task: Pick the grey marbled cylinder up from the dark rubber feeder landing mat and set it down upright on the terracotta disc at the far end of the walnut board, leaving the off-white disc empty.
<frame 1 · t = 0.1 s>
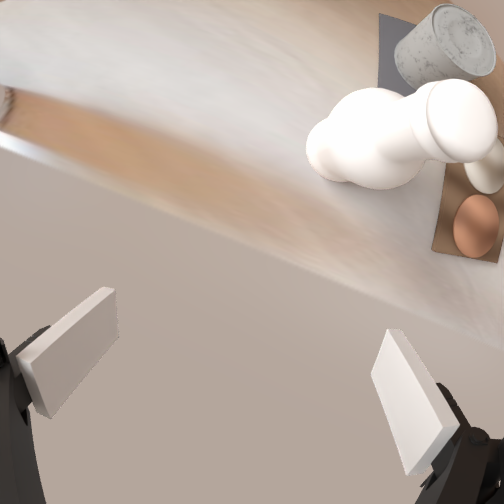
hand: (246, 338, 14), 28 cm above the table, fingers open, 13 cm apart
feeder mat: (422, 65, 32), on the table
bottle: (335, 150, 37), on the table
grey marbled cylinder: (422, 65, 32), resting on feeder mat
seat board: (477, 193, 36), on the table
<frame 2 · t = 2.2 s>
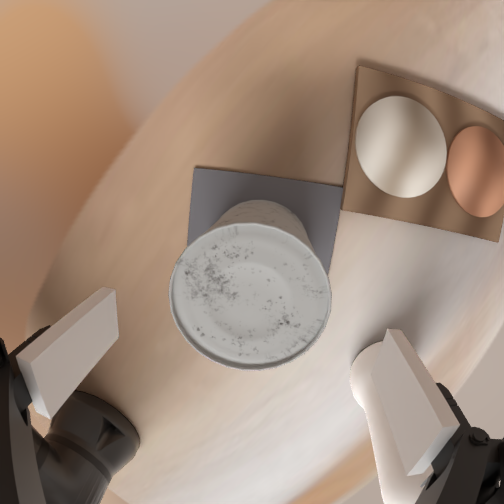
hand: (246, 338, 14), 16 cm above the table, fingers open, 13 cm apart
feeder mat: (259, 249, 29), on the table
bottle: (379, 364, 32), on the table
grey marbled cylinder: (259, 249, 29), resting on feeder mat
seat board: (439, 159, 26), on the table
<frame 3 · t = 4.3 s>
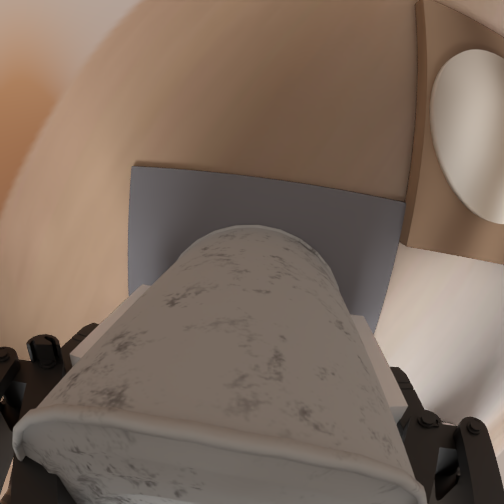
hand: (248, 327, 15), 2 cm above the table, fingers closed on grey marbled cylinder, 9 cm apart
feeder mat: (251, 312, 16), on the table
grey marbled cylinder: (251, 312, 16), resting on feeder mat, touching gripper
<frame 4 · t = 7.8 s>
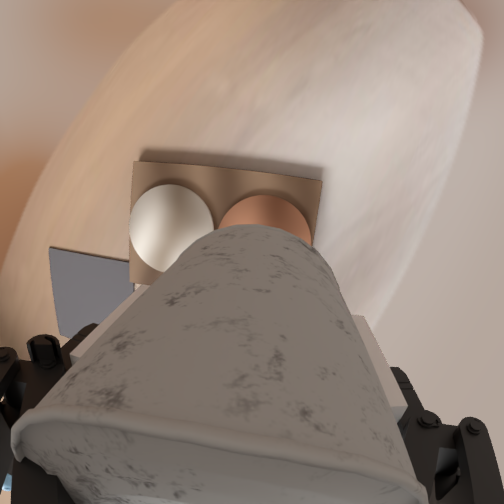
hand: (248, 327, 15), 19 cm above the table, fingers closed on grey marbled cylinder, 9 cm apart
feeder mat: (90, 303, 37), on the table
grey marbled cylinder: (251, 312, 16), point 17 cm above the table, touching gripper
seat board: (218, 232, 33), on the table
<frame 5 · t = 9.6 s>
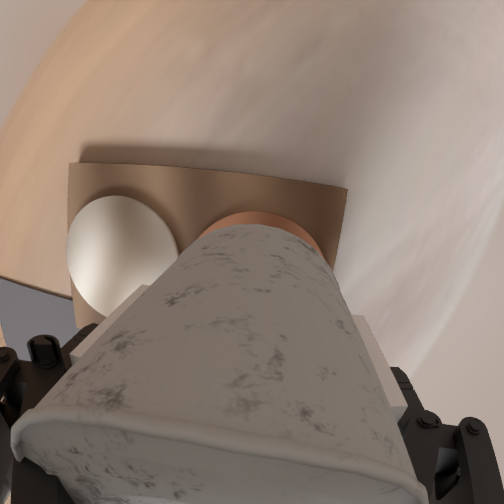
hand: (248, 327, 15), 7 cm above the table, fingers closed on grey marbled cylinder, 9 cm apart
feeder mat: (40, 345, 26), on the table
grey marbled cylinder: (251, 312, 16), point 6 cm above the table, touching gripper
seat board: (188, 266, 22), on the table
when the fingers open (5 cm above the table, at t = 11.2 s): grey marbled cylinder drops 1 cm, resting on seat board.
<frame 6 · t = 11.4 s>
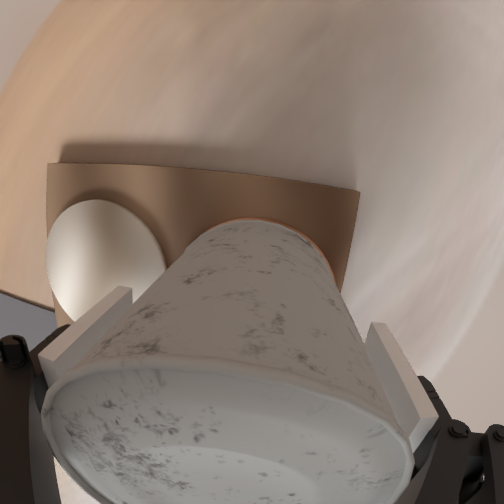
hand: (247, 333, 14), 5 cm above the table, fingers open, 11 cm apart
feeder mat: (27, 357, 23), on the table
grey marbled cylinder: (251, 301, 17), point 2 cm above the table, touching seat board
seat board: (177, 278, 19), on the table
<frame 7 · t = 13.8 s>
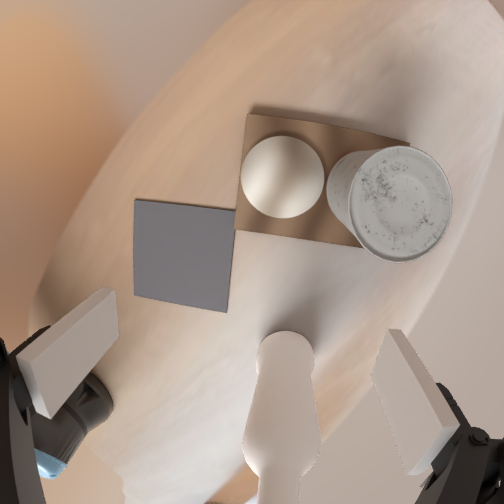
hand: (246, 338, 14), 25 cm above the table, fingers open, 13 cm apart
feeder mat: (180, 256, 40), on the table
bottle: (285, 350, 43), on the table
grey marbled cylinder: (365, 190, 34), point 2 cm above the table, touching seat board
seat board: (323, 182, 36), on the table
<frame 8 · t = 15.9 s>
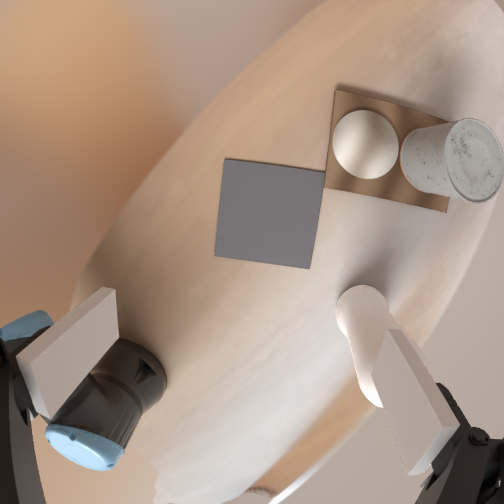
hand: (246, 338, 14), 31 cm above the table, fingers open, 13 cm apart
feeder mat: (268, 214, 43), on the table
bottle: (358, 305, 46), on the table
grey marbled cylinder: (428, 160, 37), point 2 cm above the table, touching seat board
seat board: (395, 152, 39), on the table
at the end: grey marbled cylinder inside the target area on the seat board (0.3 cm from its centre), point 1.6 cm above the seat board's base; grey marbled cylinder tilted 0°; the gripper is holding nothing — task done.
